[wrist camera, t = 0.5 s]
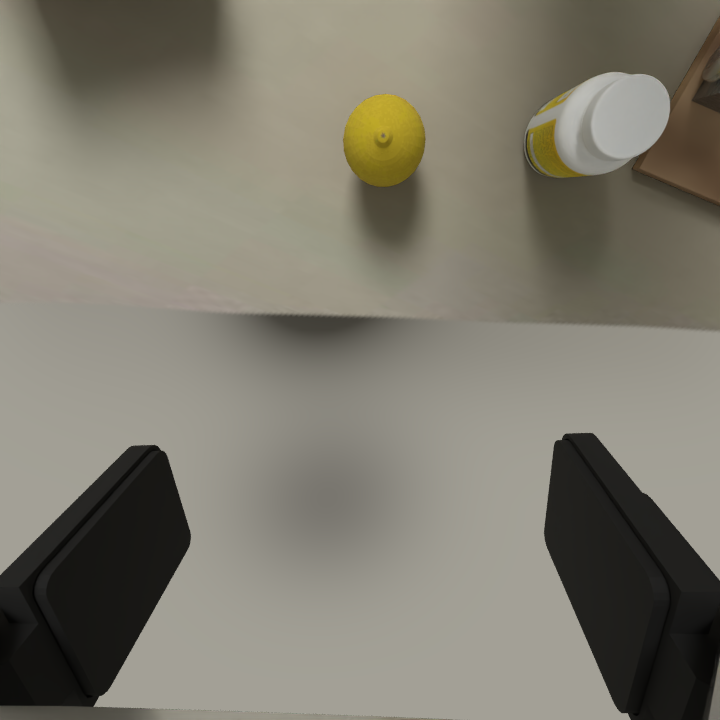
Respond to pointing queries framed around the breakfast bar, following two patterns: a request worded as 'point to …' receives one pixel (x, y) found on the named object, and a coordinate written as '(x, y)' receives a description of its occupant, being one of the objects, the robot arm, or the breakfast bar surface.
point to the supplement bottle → (597, 125)
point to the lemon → (384, 140)
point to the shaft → (710, 84)
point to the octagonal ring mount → (689, 137)
